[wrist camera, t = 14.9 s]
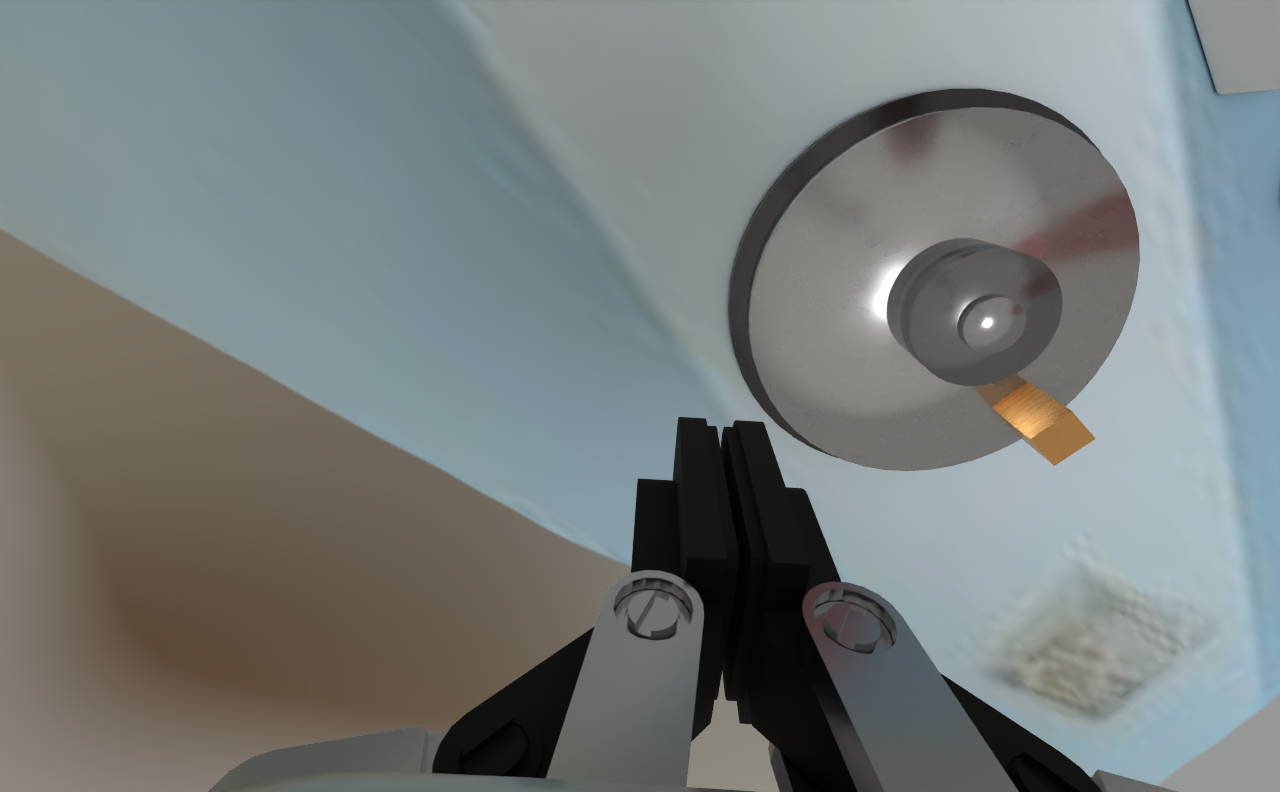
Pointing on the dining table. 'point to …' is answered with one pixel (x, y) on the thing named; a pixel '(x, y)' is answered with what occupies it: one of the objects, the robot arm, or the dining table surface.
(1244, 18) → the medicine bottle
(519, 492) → the dining table surface
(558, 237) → the dining table surface
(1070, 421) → the turntable
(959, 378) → the cover
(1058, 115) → the turntable base
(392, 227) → the dining table surface
